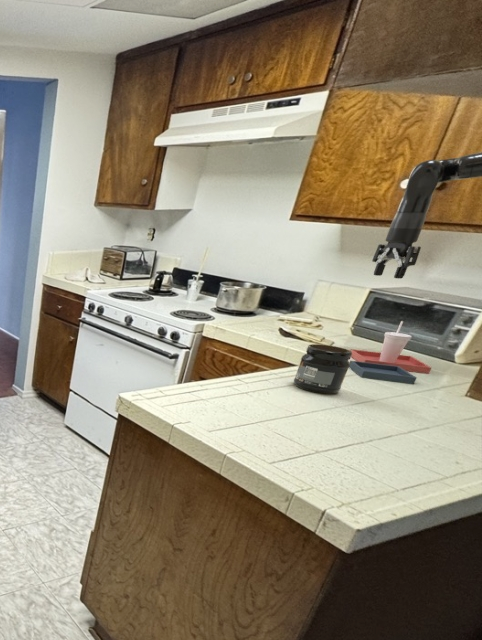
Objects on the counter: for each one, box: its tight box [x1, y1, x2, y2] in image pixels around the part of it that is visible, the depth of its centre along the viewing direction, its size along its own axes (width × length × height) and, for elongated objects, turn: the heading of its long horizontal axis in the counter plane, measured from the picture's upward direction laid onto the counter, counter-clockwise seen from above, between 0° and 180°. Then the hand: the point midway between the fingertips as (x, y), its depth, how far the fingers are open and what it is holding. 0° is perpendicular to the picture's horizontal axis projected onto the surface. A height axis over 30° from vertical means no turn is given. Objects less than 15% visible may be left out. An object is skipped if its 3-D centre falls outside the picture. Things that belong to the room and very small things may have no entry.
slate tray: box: [349, 360, 417, 385], centre depth 148 cm, size 12×12×2 cm
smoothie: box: [379, 320, 413, 363], centre depth 157 cm, size 6×6×14 cm
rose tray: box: [350, 349, 432, 375], centre depth 159 cm, size 16×14×2 cm
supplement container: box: [293, 343, 352, 395], centre depth 134 cm, size 10×10×12 cm
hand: (387, 276), depth 161 cm, fingers open, 8 cm apart
